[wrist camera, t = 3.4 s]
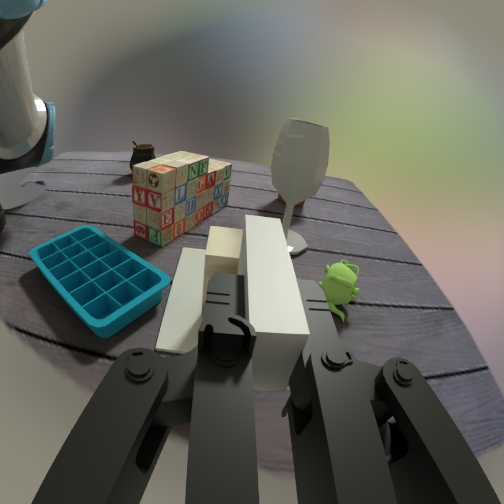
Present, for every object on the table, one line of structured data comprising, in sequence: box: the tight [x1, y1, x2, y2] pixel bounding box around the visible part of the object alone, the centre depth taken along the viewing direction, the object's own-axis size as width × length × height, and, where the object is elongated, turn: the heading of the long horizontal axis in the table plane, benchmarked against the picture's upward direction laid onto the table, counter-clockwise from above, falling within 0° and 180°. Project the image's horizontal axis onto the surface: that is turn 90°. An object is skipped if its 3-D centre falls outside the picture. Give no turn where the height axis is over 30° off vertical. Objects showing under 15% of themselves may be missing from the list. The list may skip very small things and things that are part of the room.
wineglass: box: [271, 118, 329, 255], centre depth 45 cm, size 9×9×21 cm
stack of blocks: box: [132, 151, 232, 247], centre depth 50 cm, size 21×6×12 cm, turn 155°
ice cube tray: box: [29, 225, 171, 338], centre depth 33 cm, size 12×20×3 cm, turn 58°
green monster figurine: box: [318, 260, 359, 322], centre depth 37 cm, size 6×5×6 cm
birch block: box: [201, 226, 243, 323], centre depth 28 cm, size 5×5×11 cm
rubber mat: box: [156, 247, 206, 354], centre depth 36 cm, size 14×20×1 cm
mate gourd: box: [130, 141, 156, 173], centre depth 68 cm, size 7×8×10 cm
